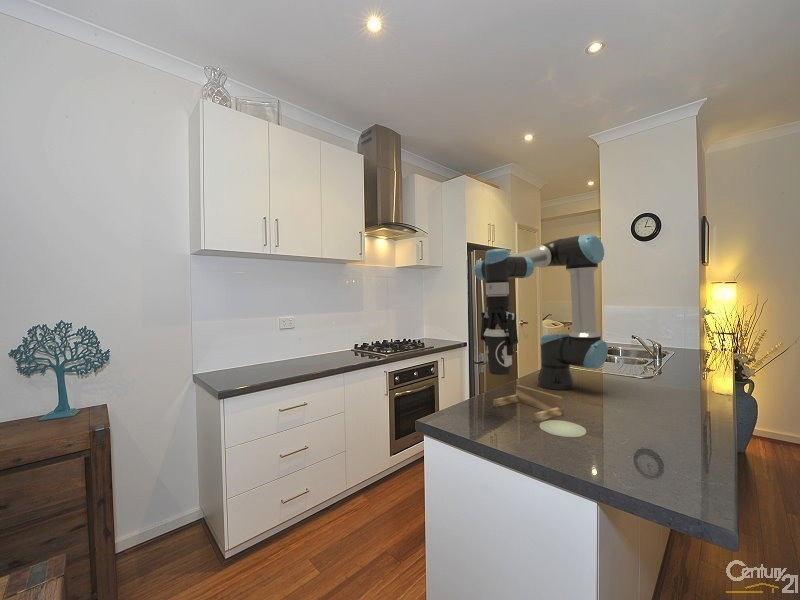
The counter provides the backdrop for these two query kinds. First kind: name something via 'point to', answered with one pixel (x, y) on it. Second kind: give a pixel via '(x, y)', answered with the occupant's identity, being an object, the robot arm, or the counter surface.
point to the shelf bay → (535, 402)
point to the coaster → (562, 428)
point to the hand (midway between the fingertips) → (498, 362)
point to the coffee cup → (496, 350)
